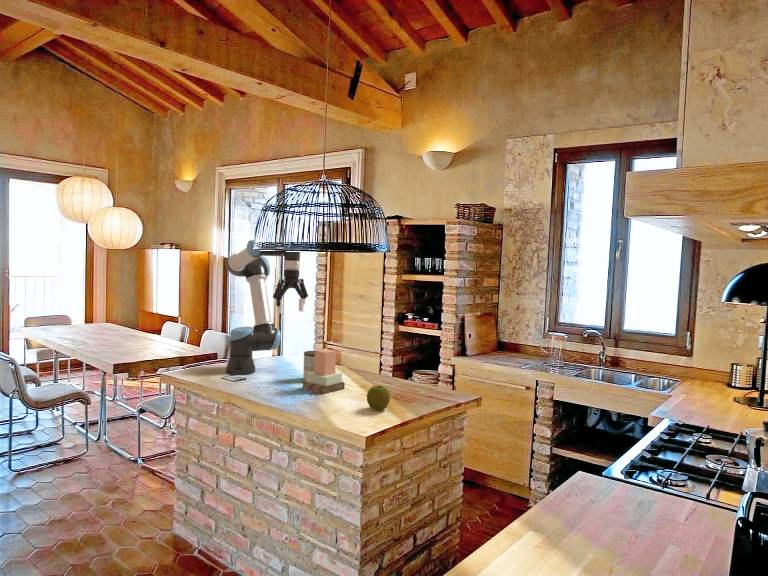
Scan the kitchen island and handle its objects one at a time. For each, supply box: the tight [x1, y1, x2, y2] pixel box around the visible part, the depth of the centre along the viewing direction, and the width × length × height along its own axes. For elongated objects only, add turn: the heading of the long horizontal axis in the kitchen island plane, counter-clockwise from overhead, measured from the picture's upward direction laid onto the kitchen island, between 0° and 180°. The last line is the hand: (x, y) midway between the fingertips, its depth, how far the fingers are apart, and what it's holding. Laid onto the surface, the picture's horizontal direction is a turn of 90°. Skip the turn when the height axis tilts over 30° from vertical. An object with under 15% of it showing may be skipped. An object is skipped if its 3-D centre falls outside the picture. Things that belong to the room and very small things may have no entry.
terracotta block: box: [314, 348, 337, 376], centre depth 271 cm, size 7×7×11 cm
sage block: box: [306, 371, 343, 386], centre depth 272 cm, size 12×12×4 cm
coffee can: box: [302, 350, 315, 381], centre depth 289 cm, size 10×10×14 cm
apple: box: [366, 385, 391, 411], centre depth 241 cm, size 10×10×11 cm
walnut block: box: [302, 380, 345, 395], centre depth 272 cm, size 14×14×4 cm
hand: (290, 312), depth 281 cm, fingers open, 13 cm apart
